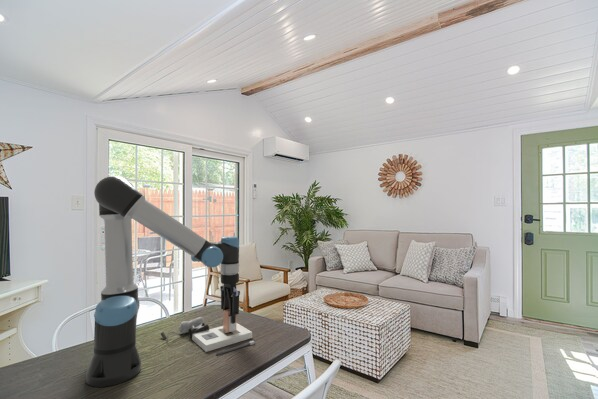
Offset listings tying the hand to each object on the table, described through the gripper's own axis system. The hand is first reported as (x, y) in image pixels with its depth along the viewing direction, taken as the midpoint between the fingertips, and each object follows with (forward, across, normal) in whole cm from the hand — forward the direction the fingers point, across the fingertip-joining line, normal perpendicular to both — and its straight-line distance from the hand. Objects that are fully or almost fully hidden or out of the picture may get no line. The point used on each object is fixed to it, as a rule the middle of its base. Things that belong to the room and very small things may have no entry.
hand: (229, 329), depth 126 cm
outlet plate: (+3, 0, +3) cm, 5 cm away
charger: (0, 0, 0) cm, 0 cm away
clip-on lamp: (+4, +13, +14) cm, 20 cm away
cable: (+3, -12, +4) cm, 13 cm away
